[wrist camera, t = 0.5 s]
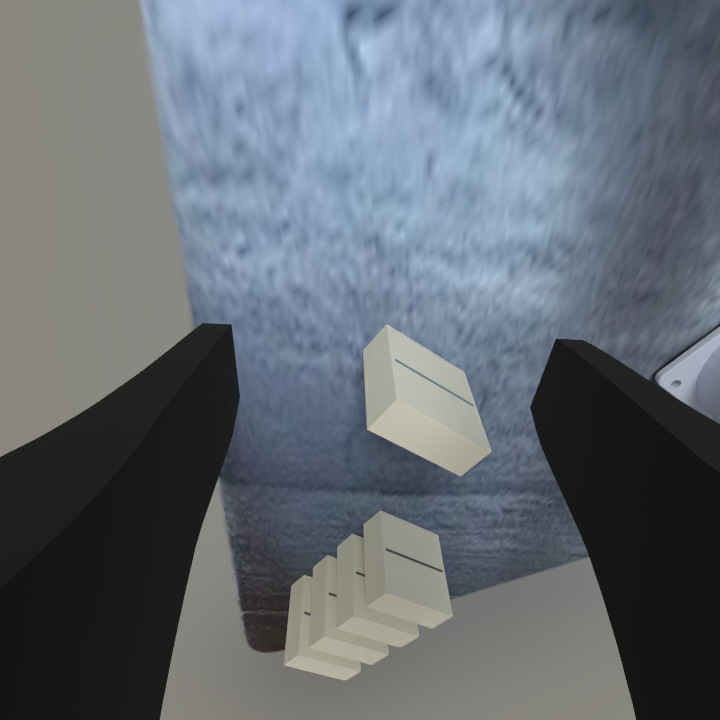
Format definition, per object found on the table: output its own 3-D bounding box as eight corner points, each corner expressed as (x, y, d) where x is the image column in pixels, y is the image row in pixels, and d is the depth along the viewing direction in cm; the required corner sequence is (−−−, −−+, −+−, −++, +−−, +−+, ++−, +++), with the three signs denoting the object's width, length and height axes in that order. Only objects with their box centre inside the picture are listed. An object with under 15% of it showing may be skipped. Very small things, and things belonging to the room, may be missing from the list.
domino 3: (409, 555, 32) (419, 636, 28) (393, 567, 33) (400, 647, 28) (352, 533, 30) (353, 615, 26) (337, 546, 31) (335, 628, 27)
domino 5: (438, 534, 30) (452, 616, 26) (420, 547, 31) (432, 628, 27) (380, 509, 29) (386, 592, 24) (363, 524, 30) (366, 607, 25)
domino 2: (383, 575, 33) (388, 654, 29) (368, 586, 34) (371, 665, 30) (327, 554, 31) (324, 636, 27) (313, 566, 32) (308, 647, 28)
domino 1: (359, 592, 35) (360, 671, 30) (345, 603, 35) (345, 680, 31) (304, 574, 33) (298, 654, 29) (291, 585, 34) (283, 665, 30)
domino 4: (464, 371, 22) (492, 451, 18) (439, 395, 23) (460, 476, 19) (386, 323, 21) (397, 399, 16) (362, 350, 22) (366, 429, 17)
